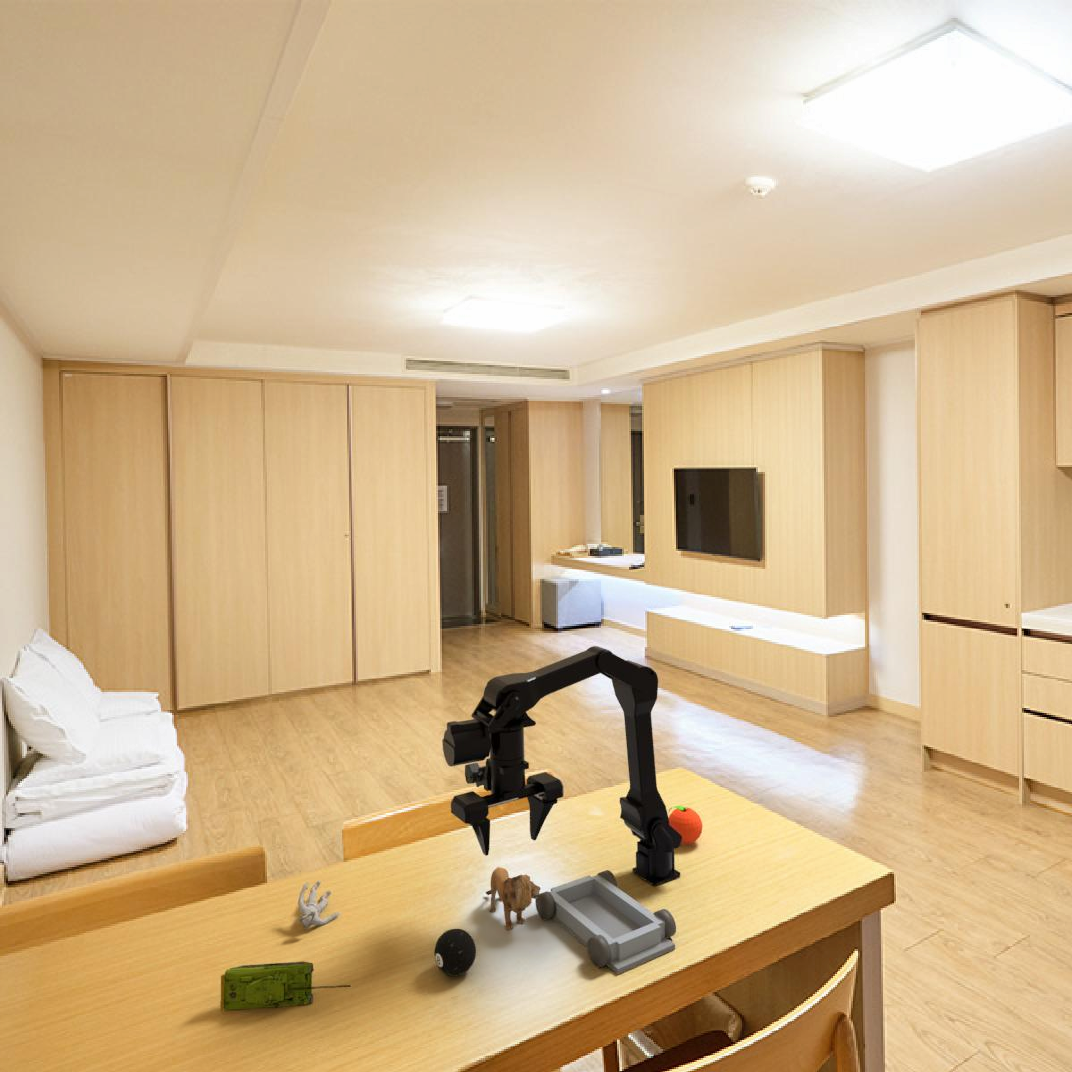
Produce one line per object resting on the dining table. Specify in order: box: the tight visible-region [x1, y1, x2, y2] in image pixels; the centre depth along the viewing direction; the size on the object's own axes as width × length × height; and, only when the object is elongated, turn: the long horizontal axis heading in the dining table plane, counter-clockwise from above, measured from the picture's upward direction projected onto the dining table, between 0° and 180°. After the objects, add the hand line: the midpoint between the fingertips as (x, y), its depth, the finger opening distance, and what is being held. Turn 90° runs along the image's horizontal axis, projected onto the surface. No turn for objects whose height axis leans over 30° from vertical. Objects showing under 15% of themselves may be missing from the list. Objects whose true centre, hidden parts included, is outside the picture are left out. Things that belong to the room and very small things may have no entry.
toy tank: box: [219, 960, 351, 1016], centre depth 104 cm, size 7×19×10 cm
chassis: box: [534, 869, 677, 975], centre depth 122 cm, size 14×22×4 cm, turn 31°
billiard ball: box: [433, 928, 477, 977], centre depth 111 cm, size 6×6×6 cm
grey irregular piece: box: [297, 880, 340, 931], centre depth 127 cm, size 8×5×12 cm
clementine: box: [667, 805, 703, 845], centre depth 151 cm, size 8×7×7 cm
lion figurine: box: [485, 866, 541, 931], centre depth 126 cm, size 15×5×9 cm, turn 34°
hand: (509, 846), depth 125 cm, fingers open, 9 cm apart
